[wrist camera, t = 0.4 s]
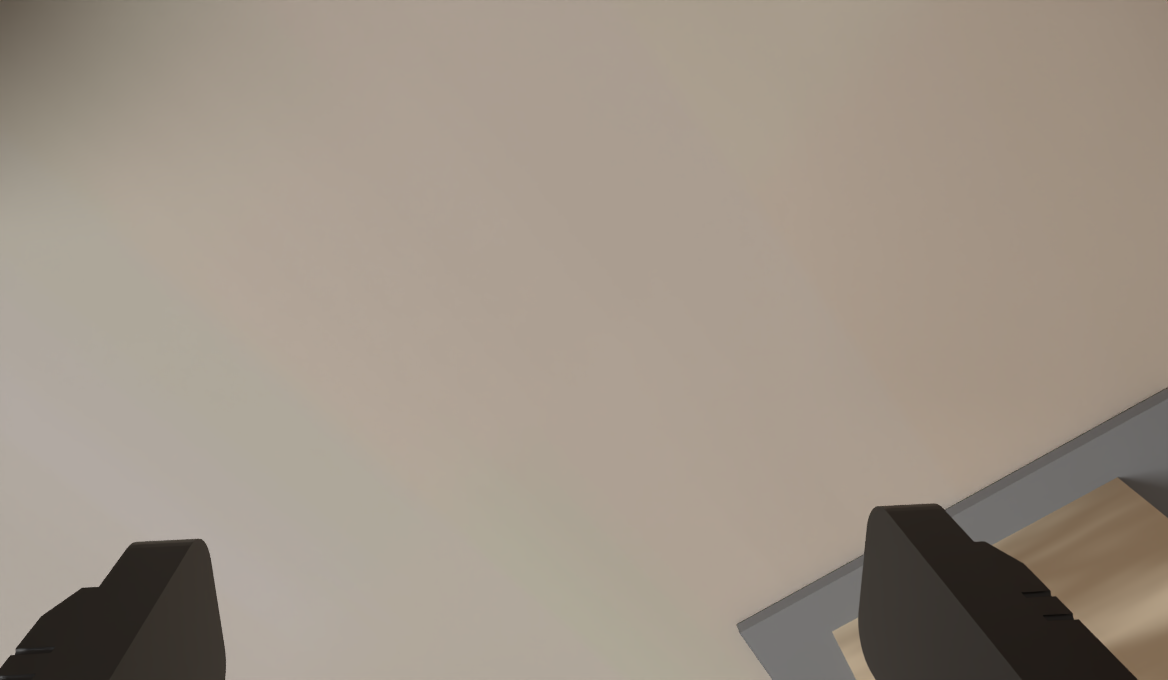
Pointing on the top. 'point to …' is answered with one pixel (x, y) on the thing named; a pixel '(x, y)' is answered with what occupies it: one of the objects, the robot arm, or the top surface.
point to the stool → (1092, 575)
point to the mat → (971, 534)
